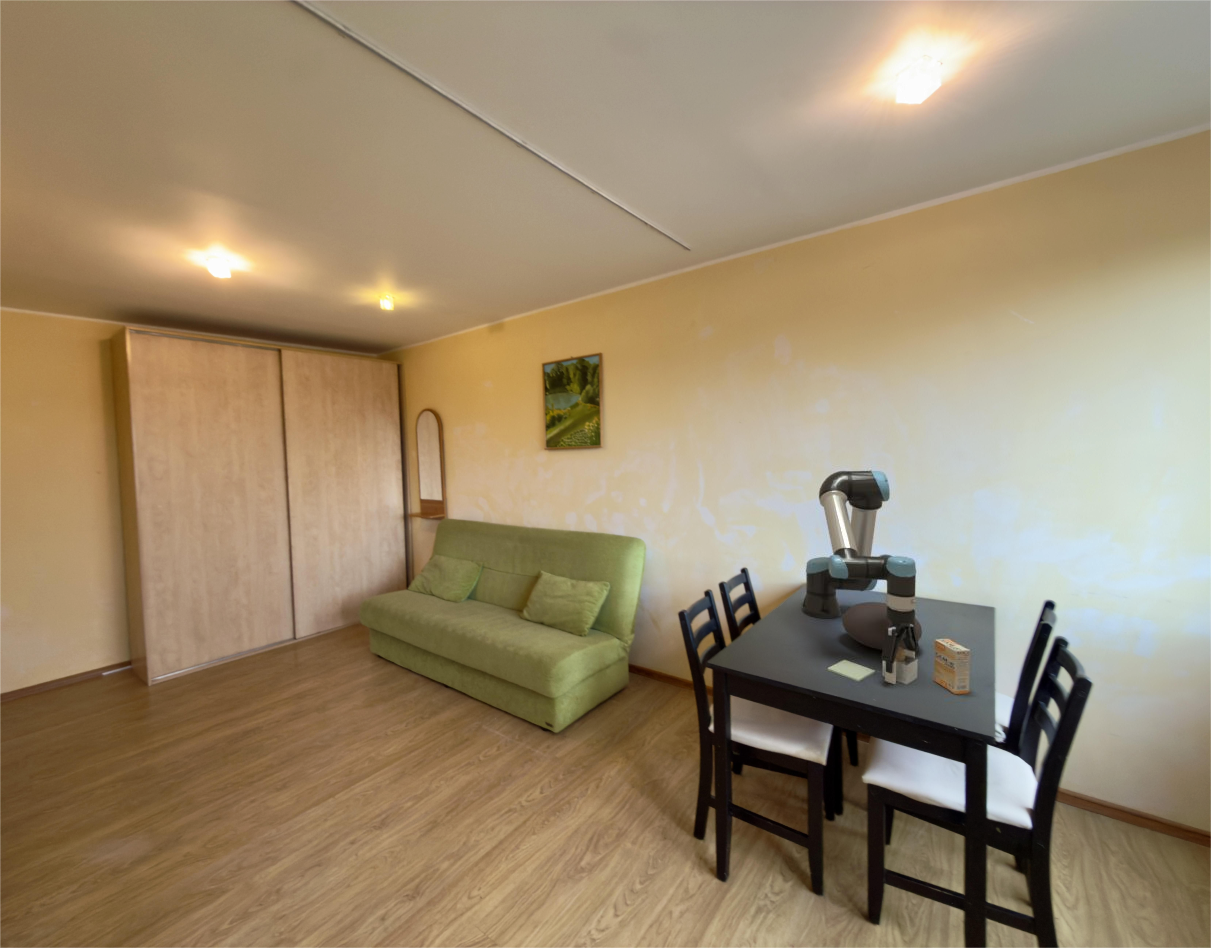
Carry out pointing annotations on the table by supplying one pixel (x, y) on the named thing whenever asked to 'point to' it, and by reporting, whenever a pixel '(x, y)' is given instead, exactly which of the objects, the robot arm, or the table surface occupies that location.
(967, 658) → the supplement box
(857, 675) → the mat
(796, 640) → the table surface
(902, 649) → the dowel
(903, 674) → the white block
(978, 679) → the table surface
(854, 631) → the flattened ellipsoid
